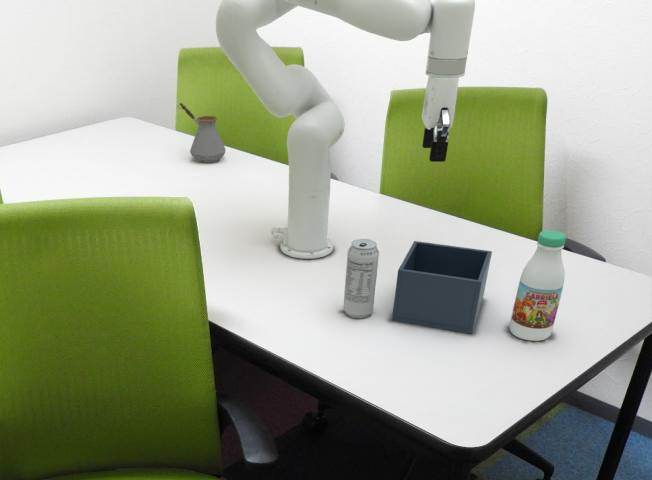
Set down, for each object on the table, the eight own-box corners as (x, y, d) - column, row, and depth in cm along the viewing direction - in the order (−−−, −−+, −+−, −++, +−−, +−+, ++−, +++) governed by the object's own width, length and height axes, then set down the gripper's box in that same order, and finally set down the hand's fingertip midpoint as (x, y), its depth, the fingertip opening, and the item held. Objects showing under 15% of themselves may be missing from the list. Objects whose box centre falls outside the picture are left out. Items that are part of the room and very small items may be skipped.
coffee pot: (232, 160, 244) (232, 111, 235) (203, 167, 238) (201, 117, 230) (195, 146, 258) (194, 99, 250) (167, 152, 253) (164, 105, 244)
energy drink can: (377, 310, 156) (384, 241, 147) (365, 322, 151) (372, 252, 143) (350, 303, 158) (356, 235, 150) (337, 315, 154) (343, 245, 146)
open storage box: (391, 320, 152) (397, 269, 146) (407, 288, 164) (414, 240, 157) (471, 334, 146) (481, 282, 140) (482, 300, 158) (492, 251, 152)
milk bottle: (502, 324, 150) (523, 227, 138) (540, 321, 150) (563, 225, 139) (518, 343, 143) (541, 243, 132) (557, 340, 144) (584, 241, 132)
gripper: (420, 58, 157) (409, 142, 166) (433, 75, 142) (421, 166, 152) (457, 58, 156) (444, 142, 166) (474, 75, 142) (459, 167, 151)
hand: (433, 154), depth 159 cm, fingers open, 9 cm apart
